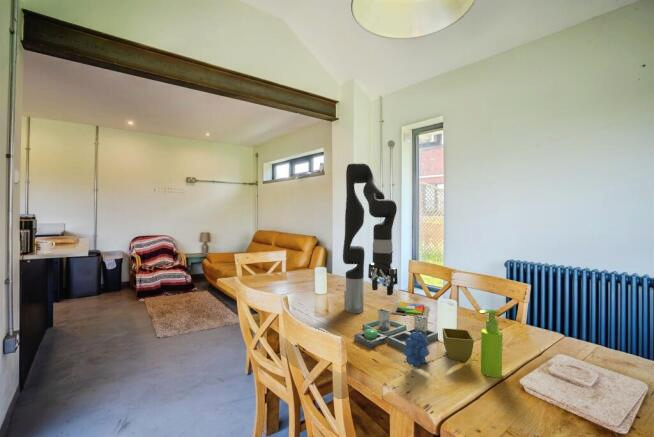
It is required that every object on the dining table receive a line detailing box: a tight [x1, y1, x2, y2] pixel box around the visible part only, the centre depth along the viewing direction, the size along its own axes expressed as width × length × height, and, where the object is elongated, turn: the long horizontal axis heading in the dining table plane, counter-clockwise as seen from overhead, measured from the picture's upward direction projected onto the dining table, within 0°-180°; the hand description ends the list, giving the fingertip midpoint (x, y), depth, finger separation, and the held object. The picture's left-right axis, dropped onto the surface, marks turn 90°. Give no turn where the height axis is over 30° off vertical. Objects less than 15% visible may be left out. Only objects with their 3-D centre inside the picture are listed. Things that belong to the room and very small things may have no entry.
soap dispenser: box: [478, 308, 503, 378], centre depth 97 cm, size 6×7×20 cm
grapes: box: [402, 332, 430, 369], centre depth 100 cm, size 12×7×12 cm, turn 125°
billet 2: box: [413, 315, 429, 337], centre depth 122 cm, size 5×5×8 cm
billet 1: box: [377, 308, 391, 332], centre depth 131 cm, size 5×5×8 cm
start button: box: [363, 328, 378, 340], centre depth 119 cm, size 5×5×3 cm
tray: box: [362, 319, 407, 337], centre depth 131 cm, size 12×14×3 cm
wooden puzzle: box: [390, 301, 430, 318], centre depth 157 cm, size 18×19×4 cm
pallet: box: [387, 327, 439, 351], centre depth 119 cm, size 19×9×3 cm, turn 127°
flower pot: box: [442, 327, 475, 363], centre depth 106 cm, size 9×9×9 cm
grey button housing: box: [353, 331, 389, 349], centre depth 119 cm, size 9×9×3 cm
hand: (382, 292), depth 119 cm, fingers open, 8 cm apart
